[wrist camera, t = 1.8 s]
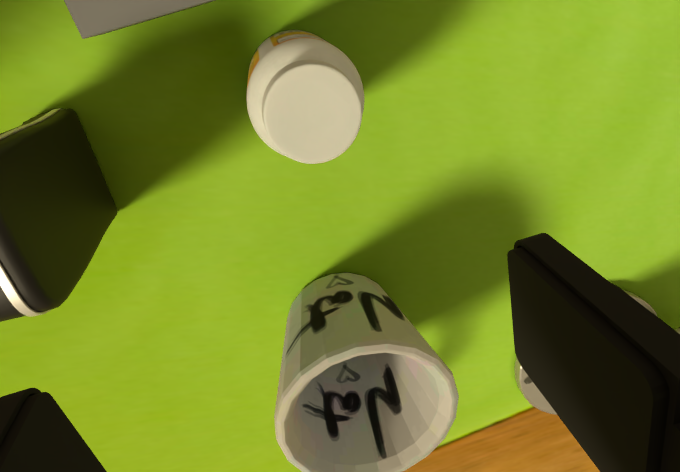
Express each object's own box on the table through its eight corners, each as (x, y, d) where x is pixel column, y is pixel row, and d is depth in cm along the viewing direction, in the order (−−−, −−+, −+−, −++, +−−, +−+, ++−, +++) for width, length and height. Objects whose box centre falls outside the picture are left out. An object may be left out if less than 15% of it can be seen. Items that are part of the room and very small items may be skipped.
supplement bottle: (300, 7, 26) (326, 10, 18) (358, 86, 28) (405, 123, 20) (226, 73, 27) (216, 106, 18) (289, 145, 29) (305, 204, 21)
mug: (401, 238, 33) (456, 323, 25) (418, 394, 40) (466, 505, 31) (252, 271, 33) (253, 372, 24) (295, 425, 39) (309, 548, 31)
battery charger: (2, 115, 26) (-155, 189, 16) (74, 101, 26) (-35, 164, 16) (59, 230, 29) (-42, 352, 19) (122, 215, 29) (56, 328, 19)
